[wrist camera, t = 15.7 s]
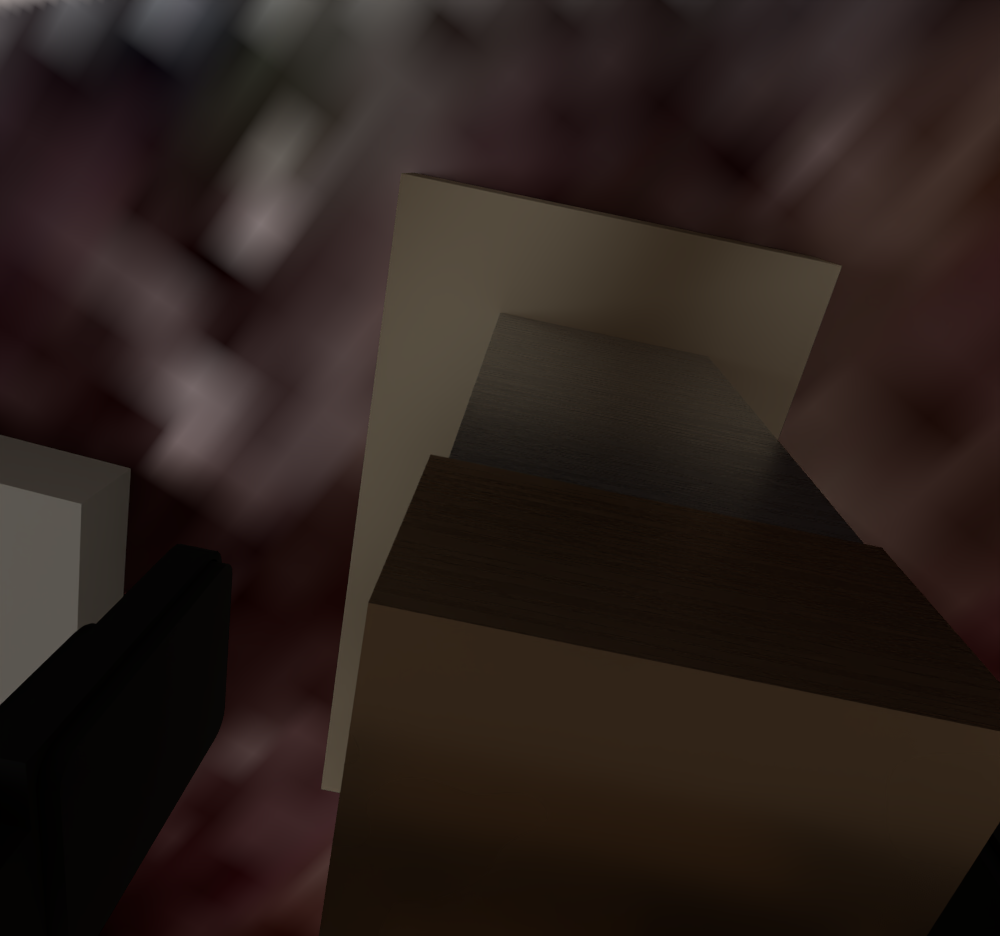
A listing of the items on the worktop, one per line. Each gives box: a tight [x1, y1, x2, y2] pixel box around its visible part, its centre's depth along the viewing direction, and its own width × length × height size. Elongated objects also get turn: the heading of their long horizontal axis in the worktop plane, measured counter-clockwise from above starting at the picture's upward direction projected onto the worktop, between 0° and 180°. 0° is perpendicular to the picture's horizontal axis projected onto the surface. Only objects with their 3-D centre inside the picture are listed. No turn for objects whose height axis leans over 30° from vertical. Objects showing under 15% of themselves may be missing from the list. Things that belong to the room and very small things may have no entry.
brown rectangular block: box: [319, 313, 1000, 936], centre depth 10 cm, size 4×9×9 cm, turn 169°
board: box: [321, 173, 842, 793], centre depth 14 cm, size 7×13×1 cm, turn 169°
